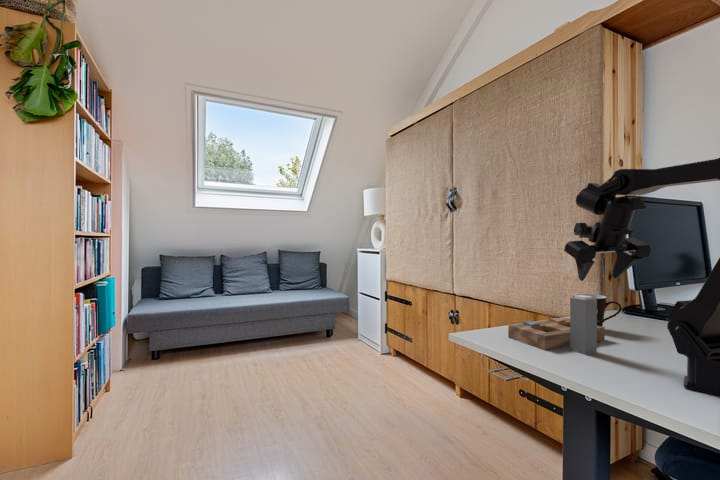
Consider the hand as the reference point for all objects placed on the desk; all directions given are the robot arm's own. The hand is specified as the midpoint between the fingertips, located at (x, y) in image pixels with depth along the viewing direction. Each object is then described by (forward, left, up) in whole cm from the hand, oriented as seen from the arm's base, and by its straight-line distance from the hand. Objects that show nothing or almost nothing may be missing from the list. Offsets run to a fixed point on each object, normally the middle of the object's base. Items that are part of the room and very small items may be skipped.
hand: (597, 278), depth 92 cm
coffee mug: (+19, +4, -18) cm, 26 cm away
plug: (-6, +2, -17) cm, 19 cm away
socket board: (+1, +10, -17) cm, 20 cm away
